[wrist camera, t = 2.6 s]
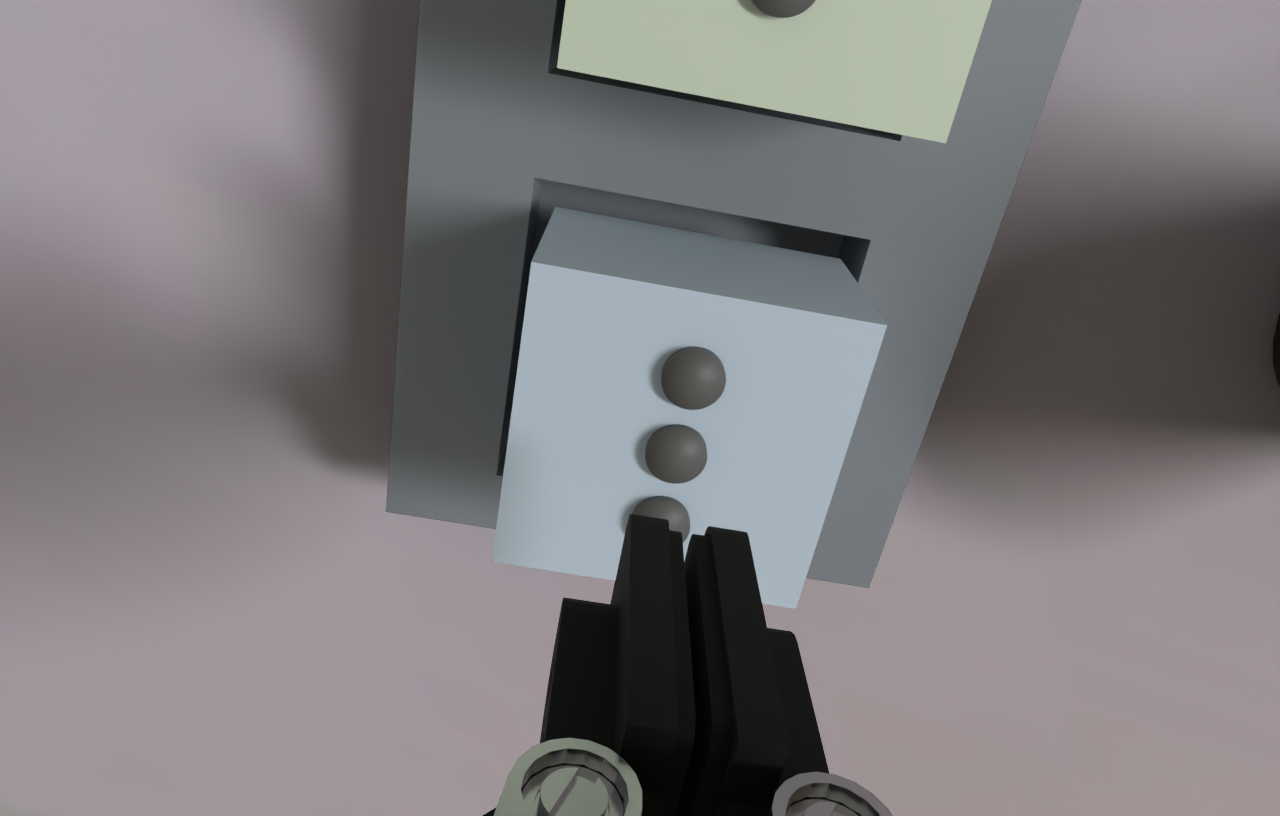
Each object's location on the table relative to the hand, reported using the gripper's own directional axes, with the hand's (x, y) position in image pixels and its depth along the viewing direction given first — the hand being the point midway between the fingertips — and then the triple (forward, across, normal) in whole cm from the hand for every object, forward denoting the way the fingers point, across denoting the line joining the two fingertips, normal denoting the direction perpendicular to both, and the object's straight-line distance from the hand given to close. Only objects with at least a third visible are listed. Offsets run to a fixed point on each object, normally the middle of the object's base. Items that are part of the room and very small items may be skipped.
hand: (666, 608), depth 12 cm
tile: (+8, 0, -1) cm, 8 cm away
